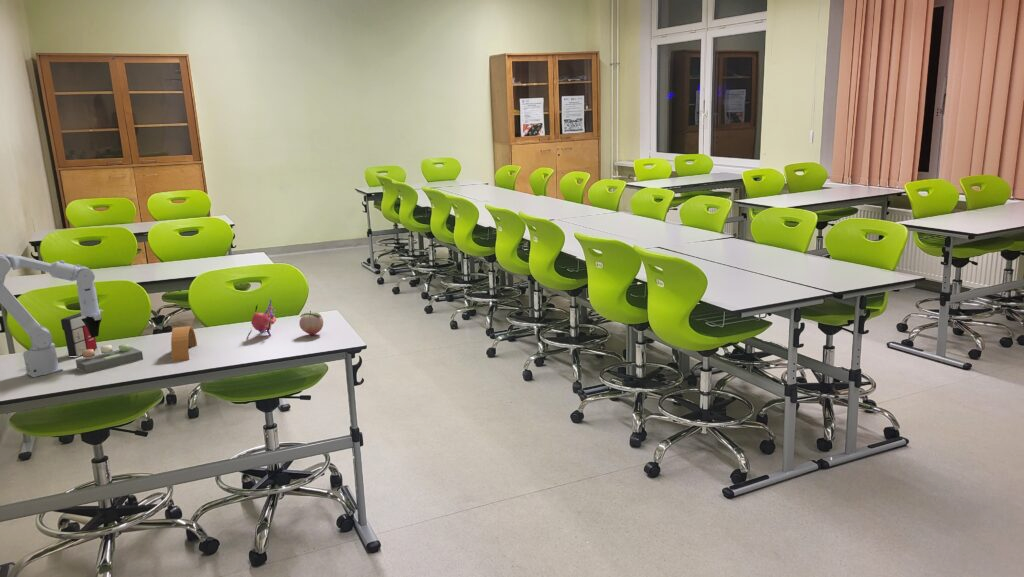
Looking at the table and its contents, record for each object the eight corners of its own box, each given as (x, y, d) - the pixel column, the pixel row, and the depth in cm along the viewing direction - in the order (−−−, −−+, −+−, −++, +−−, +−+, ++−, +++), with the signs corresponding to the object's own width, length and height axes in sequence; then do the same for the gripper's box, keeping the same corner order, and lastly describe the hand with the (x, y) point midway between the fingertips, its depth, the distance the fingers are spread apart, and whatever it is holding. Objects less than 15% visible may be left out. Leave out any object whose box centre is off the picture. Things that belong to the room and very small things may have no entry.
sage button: (121, 352, 268) (120, 347, 268) (118, 350, 270) (117, 345, 270) (132, 350, 271) (131, 344, 270) (128, 348, 273) (127, 343, 273)
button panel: (86, 373, 256) (84, 364, 255) (77, 368, 263) (75, 359, 262) (143, 359, 269) (141, 350, 269) (132, 354, 276) (131, 346, 275)
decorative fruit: (328, 331, 294) (325, 307, 292) (320, 337, 286) (318, 312, 284) (305, 332, 295) (303, 308, 293) (297, 338, 287) (294, 313, 285)
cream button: (103, 353, 264) (102, 348, 263) (99, 352, 266) (99, 346, 266) (114, 351, 266) (113, 346, 266) (110, 349, 269) (109, 344, 268)
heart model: (243, 344, 286) (253, 322, 304) (269, 348, 288) (277, 326, 306) (248, 305, 280) (258, 285, 298) (274, 309, 282) (282, 289, 300)
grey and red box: (77, 358, 275) (70, 319, 272) (67, 357, 276) (60, 319, 273) (98, 349, 286) (92, 311, 283) (89, 349, 287) (82, 311, 284)
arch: (172, 362, 264) (167, 335, 262) (181, 347, 283) (177, 322, 281) (189, 360, 266) (185, 333, 264) (197, 345, 285) (194, 320, 283)
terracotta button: (85, 358, 259) (84, 352, 259) (81, 356, 262) (80, 351, 261) (96, 355, 262) (95, 350, 261) (92, 353, 264) (91, 348, 264)
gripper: (107, 300, 263) (113, 337, 266) (93, 295, 272) (99, 331, 275) (86, 304, 258) (92, 341, 261) (72, 299, 267) (78, 335, 270)
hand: (94, 336), depth 268 cm, fingers closed
